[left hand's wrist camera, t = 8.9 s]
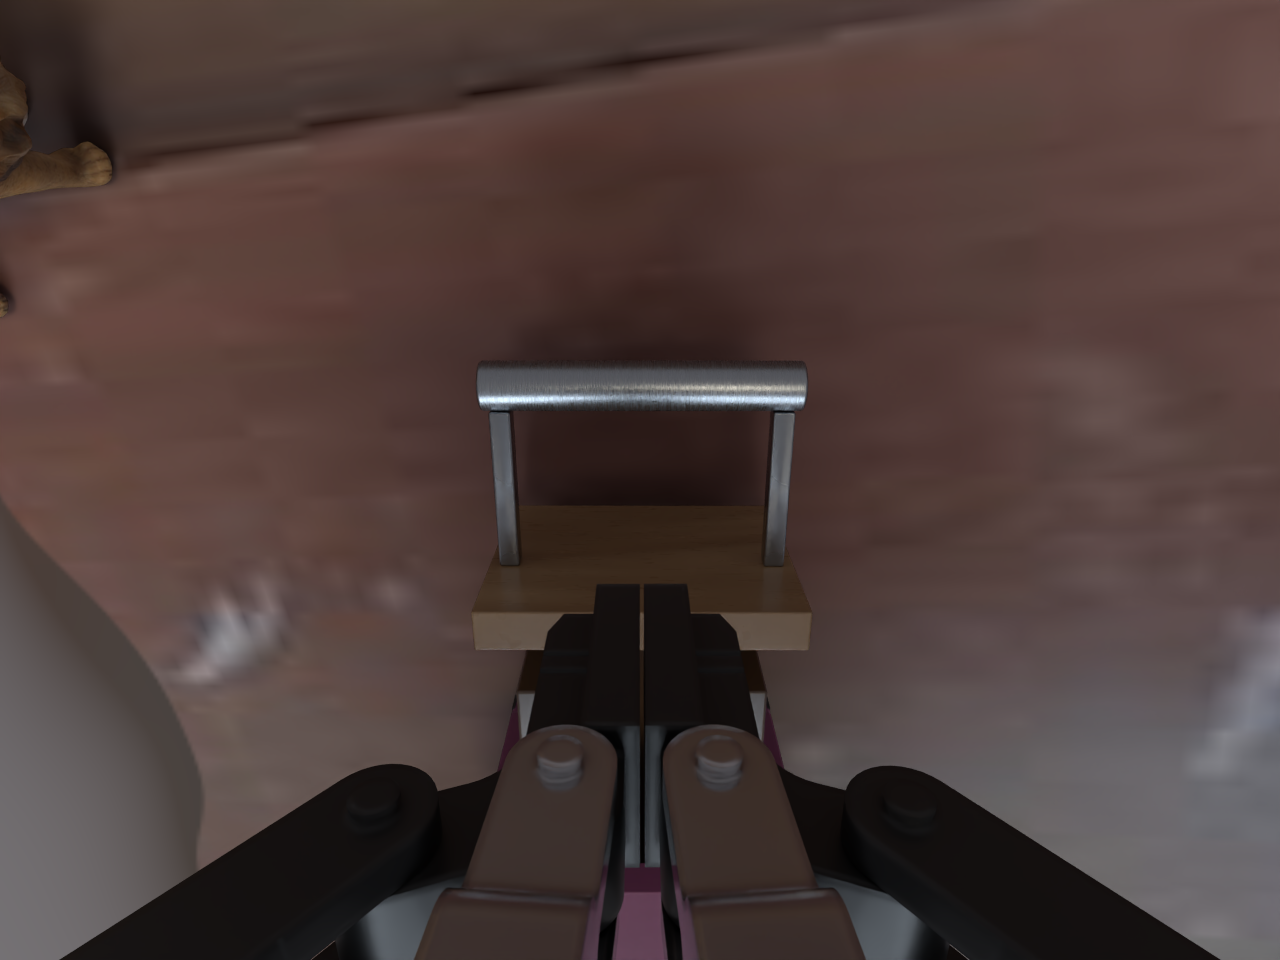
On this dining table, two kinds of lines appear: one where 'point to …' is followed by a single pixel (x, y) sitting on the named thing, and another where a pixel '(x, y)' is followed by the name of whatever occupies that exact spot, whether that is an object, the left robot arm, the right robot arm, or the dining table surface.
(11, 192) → the lion figurine
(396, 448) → the dining table surface
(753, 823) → the left robot arm
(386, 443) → the dining table surface
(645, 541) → the drawer
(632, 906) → the purple rectangular box
